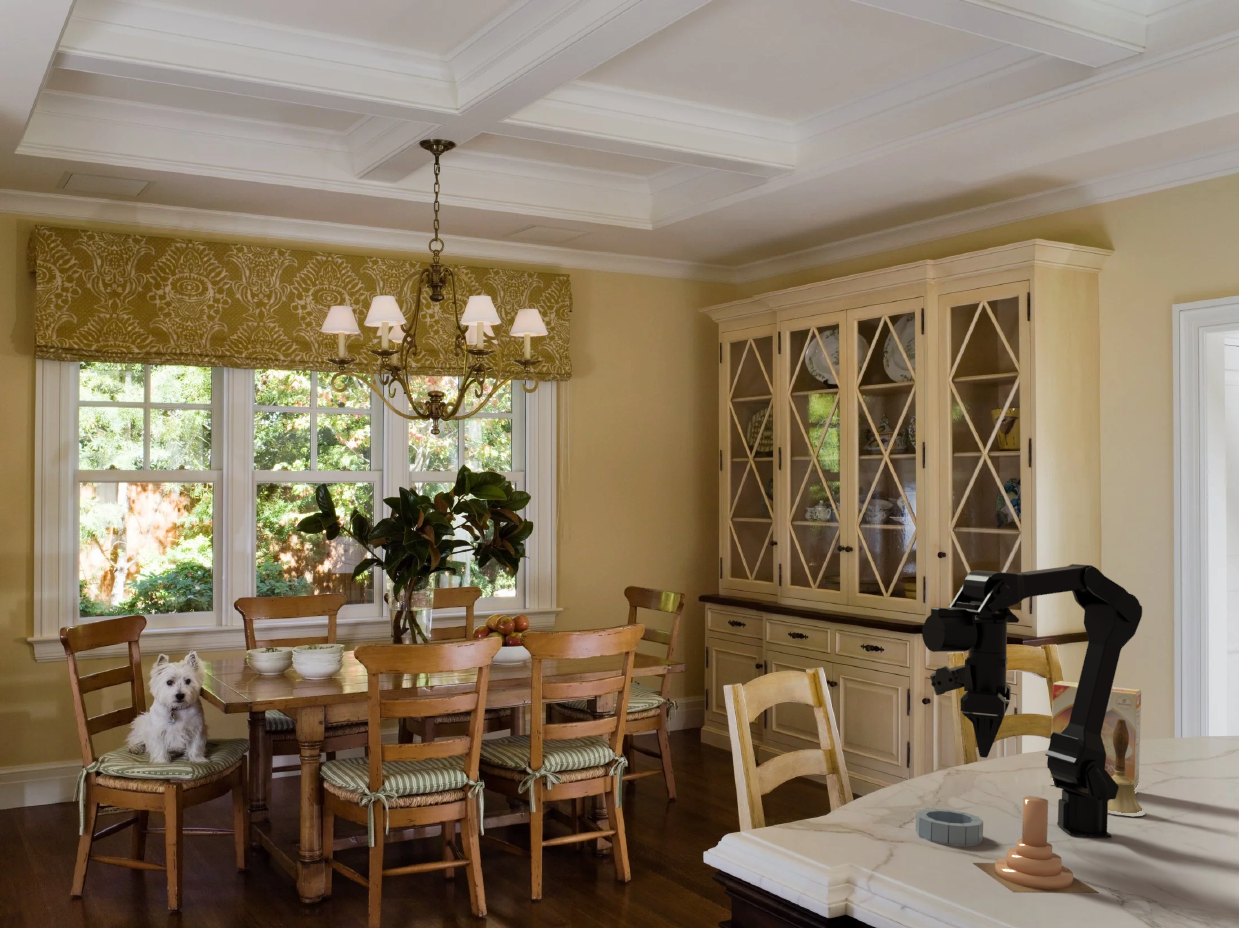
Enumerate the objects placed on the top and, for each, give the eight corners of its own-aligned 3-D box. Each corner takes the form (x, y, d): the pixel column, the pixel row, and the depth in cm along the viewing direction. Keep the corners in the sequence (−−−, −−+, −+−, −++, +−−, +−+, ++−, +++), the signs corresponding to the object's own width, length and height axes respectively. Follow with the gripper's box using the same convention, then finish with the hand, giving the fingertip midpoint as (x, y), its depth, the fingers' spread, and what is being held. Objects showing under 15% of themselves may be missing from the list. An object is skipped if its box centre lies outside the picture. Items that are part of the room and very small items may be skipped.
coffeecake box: (1049, 785, 209) (1051, 683, 210) (1055, 779, 215) (1058, 679, 216) (1134, 799, 201) (1137, 692, 202) (1139, 792, 207) (1141, 688, 208)
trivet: (1052, 868, 155) (1052, 863, 155) (1099, 897, 143) (1099, 892, 144) (972, 867, 154) (972, 862, 154) (1012, 896, 142) (1013, 891, 142)
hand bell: (1084, 804, 195) (1086, 714, 196) (1129, 806, 195) (1131, 716, 196) (1109, 817, 186) (1111, 723, 187) (1155, 818, 187) (1157, 725, 188)
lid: (1057, 868, 153) (1060, 792, 154) (1084, 892, 143) (1086, 811, 144) (986, 863, 154) (988, 788, 155) (1007, 886, 144) (1009, 806, 145)
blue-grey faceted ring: (972, 833, 172) (972, 811, 172) (989, 851, 162) (990, 827, 162) (910, 829, 172) (911, 807, 172) (924, 847, 163) (925, 823, 163)
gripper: (941, 641, 182) (939, 735, 182) (926, 653, 165) (925, 757, 164) (1011, 646, 178) (1010, 743, 177) (1004, 659, 161) (1002, 766, 160)
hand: (985, 751), depth 170 cm, fingers open, 9 cm apart
